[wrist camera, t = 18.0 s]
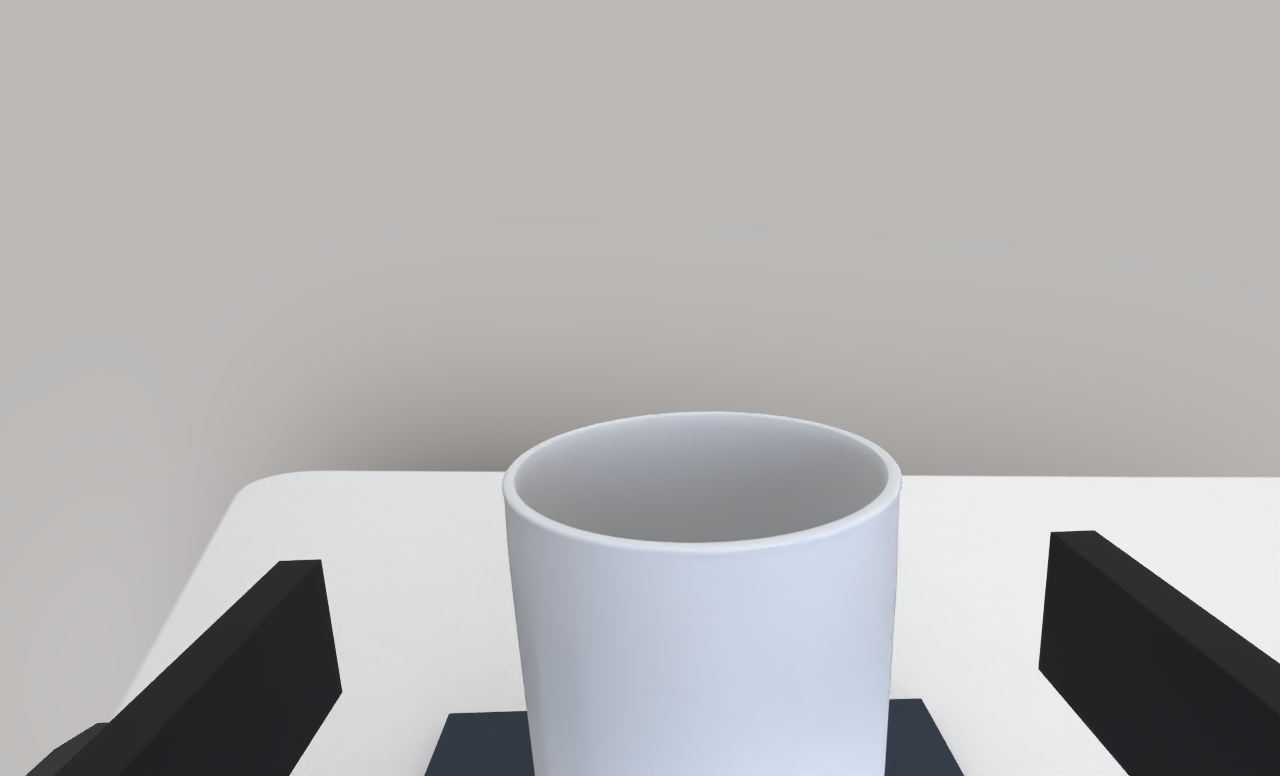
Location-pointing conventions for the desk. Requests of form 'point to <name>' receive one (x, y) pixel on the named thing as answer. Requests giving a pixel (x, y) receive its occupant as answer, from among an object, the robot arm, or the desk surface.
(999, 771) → the desk surface
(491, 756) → the mat
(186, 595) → the desk surface
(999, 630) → the desk surface
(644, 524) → the mug
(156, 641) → the desk surface
